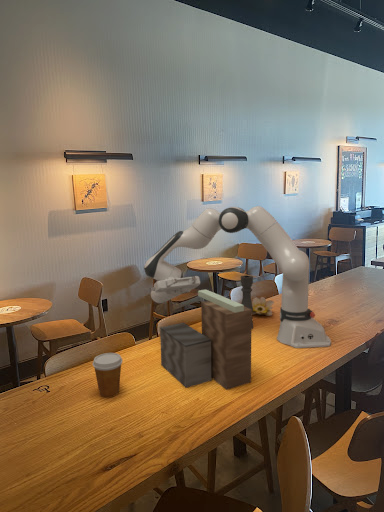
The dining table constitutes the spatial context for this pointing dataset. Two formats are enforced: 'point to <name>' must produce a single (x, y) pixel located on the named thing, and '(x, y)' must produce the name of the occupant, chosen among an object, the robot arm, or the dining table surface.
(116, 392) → the disposable coffee cup
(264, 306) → the decorative flower
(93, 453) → the dining table surface
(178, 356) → the dark wood grain brick
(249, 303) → the candle holder
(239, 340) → the plinth
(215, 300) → the slat
